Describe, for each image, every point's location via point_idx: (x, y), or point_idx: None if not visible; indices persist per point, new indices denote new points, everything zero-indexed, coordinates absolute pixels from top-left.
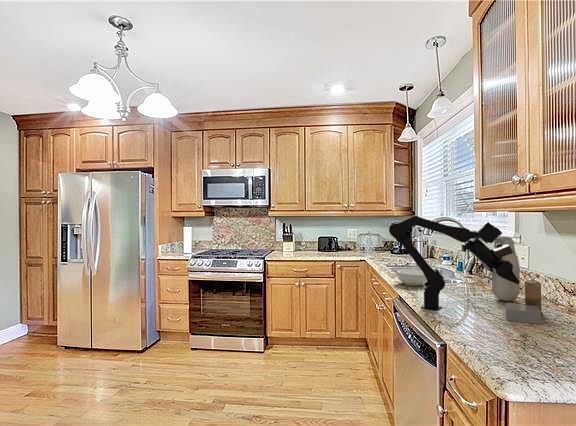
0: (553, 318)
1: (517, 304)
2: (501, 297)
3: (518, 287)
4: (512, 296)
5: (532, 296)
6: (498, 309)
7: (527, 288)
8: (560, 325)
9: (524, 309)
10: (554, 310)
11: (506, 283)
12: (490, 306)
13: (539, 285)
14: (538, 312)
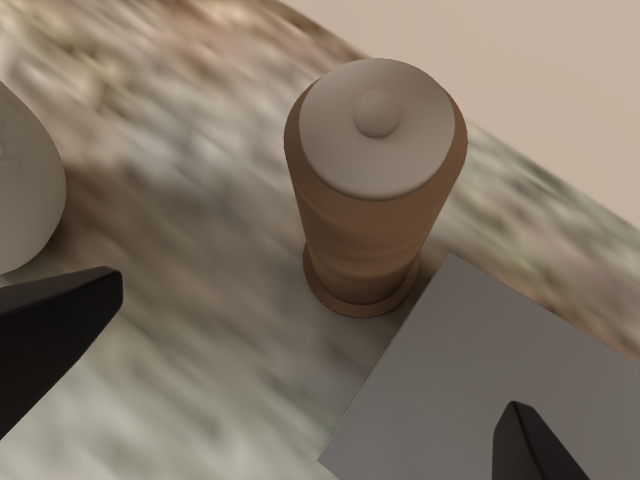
0: (461, 208)
1: (393, 397)
2: (18, 266)
3: (18, 105)
4: (62, 197)
5: (419, 246)
6: (218, 443)
7: (387, 242)
8: (618, 272)
9: (578, 462)
10: (293, 90)
11: None
12: (125, 452)
13: (457, 123)
14: None
